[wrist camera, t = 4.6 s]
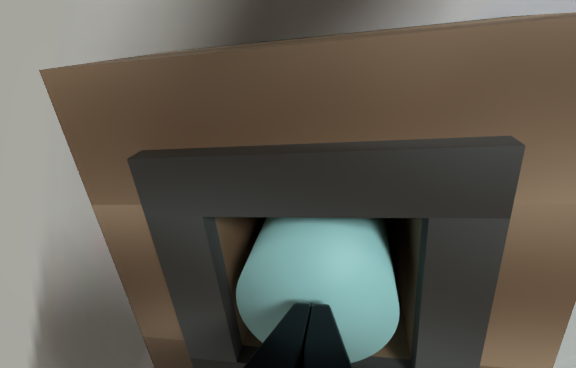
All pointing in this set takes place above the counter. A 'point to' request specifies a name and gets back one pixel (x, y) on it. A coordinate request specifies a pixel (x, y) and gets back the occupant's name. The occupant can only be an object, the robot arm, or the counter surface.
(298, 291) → the peg
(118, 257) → the socket block
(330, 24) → the counter surface
